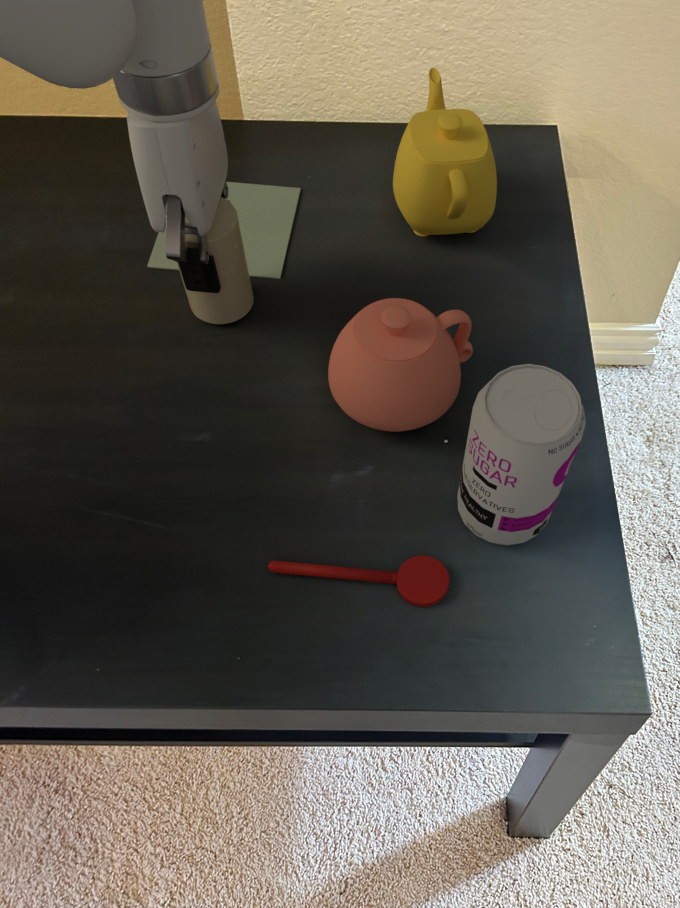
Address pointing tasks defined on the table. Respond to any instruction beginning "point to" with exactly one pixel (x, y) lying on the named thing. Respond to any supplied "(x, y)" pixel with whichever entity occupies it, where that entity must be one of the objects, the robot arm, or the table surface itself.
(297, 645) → the table surface
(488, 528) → the supplement can
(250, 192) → the mat
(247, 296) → the beige cylinder
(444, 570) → the spoon
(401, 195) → the teapot
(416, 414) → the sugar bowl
